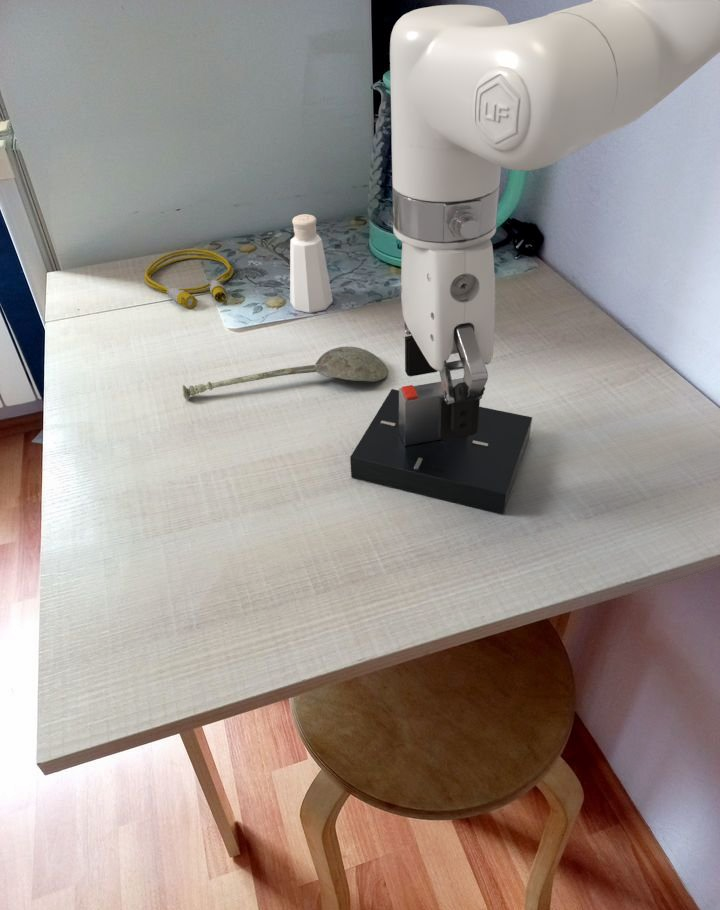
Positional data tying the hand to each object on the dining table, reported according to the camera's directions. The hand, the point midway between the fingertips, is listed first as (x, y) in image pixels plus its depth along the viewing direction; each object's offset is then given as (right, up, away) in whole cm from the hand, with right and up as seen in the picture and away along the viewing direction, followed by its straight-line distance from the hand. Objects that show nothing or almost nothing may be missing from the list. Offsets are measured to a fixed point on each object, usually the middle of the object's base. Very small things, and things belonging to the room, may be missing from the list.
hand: (439, 402), depth 62 cm
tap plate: (+1, -5, +4) cm, 6 cm away
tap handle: (0, -3, +3) cm, 4 cm away
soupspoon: (-15, +3, +14) cm, 21 cm away
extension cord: (-30, +18, +33) cm, 48 cm away
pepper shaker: (-13, +14, +27) cm, 34 cm away
